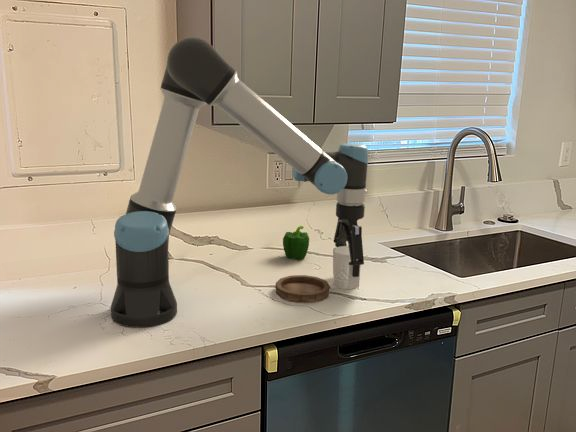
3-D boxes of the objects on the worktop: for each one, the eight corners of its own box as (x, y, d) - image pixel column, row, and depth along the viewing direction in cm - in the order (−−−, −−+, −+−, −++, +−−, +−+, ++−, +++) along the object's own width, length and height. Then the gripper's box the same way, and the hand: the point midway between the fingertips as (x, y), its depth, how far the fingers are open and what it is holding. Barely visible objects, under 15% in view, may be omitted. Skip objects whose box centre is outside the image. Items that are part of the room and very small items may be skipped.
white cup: (358, 291, 151) (361, 256, 148) (329, 288, 152) (331, 253, 150) (361, 281, 158) (363, 247, 156) (333, 278, 160) (335, 244, 157)
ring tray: (280, 304, 141) (281, 296, 141) (272, 283, 155) (272, 276, 154) (335, 301, 144) (335, 293, 143) (321, 281, 157) (322, 274, 157)
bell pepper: (291, 263, 171) (292, 232, 169) (278, 255, 178) (279, 225, 175) (314, 260, 175) (316, 229, 173) (301, 252, 182) (302, 222, 180)
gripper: (380, 214, 138) (374, 294, 144) (350, 192, 162) (346, 262, 167) (350, 214, 137) (345, 296, 142) (325, 192, 161) (322, 263, 166)
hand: (346, 278), depth 155 cm, fingers open, 13 cm apart
